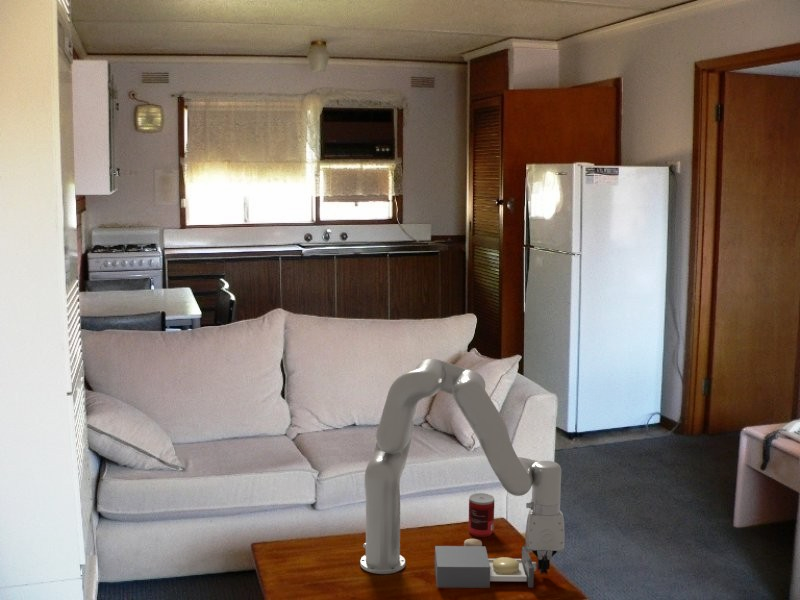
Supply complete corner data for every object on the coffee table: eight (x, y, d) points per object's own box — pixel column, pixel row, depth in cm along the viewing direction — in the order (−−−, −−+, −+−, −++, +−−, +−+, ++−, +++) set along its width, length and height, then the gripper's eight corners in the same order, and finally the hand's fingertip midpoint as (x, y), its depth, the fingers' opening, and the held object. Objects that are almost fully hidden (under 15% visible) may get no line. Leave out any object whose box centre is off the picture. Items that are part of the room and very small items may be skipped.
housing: (436, 587, 247) (437, 566, 246) (434, 565, 260) (435, 545, 259) (489, 587, 247) (490, 567, 246) (484, 565, 260) (485, 546, 259)
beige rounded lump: (460, 555, 266) (460, 540, 266) (474, 552, 269) (475, 537, 268) (470, 562, 262) (470, 547, 261) (484, 558, 265) (485, 543, 264)
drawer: (478, 587, 247) (479, 567, 246) (474, 564, 260) (474, 546, 259) (539, 587, 247) (539, 568, 246) (531, 564, 260) (532, 546, 260)
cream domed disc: (503, 577, 249) (503, 571, 248) (487, 567, 254) (487, 561, 254) (524, 571, 252) (524, 564, 252) (507, 561, 258) (507, 555, 258)
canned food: (487, 525, 288) (488, 491, 286) (497, 535, 280) (498, 501, 279) (464, 528, 285) (465, 494, 284) (474, 539, 278) (475, 503, 276)
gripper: (519, 512, 247) (517, 577, 250) (576, 512, 247) (573, 578, 250) (516, 501, 254) (514, 565, 257) (570, 502, 254) (568, 565, 257)
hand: (543, 571), depth 253 cm, fingers closed
